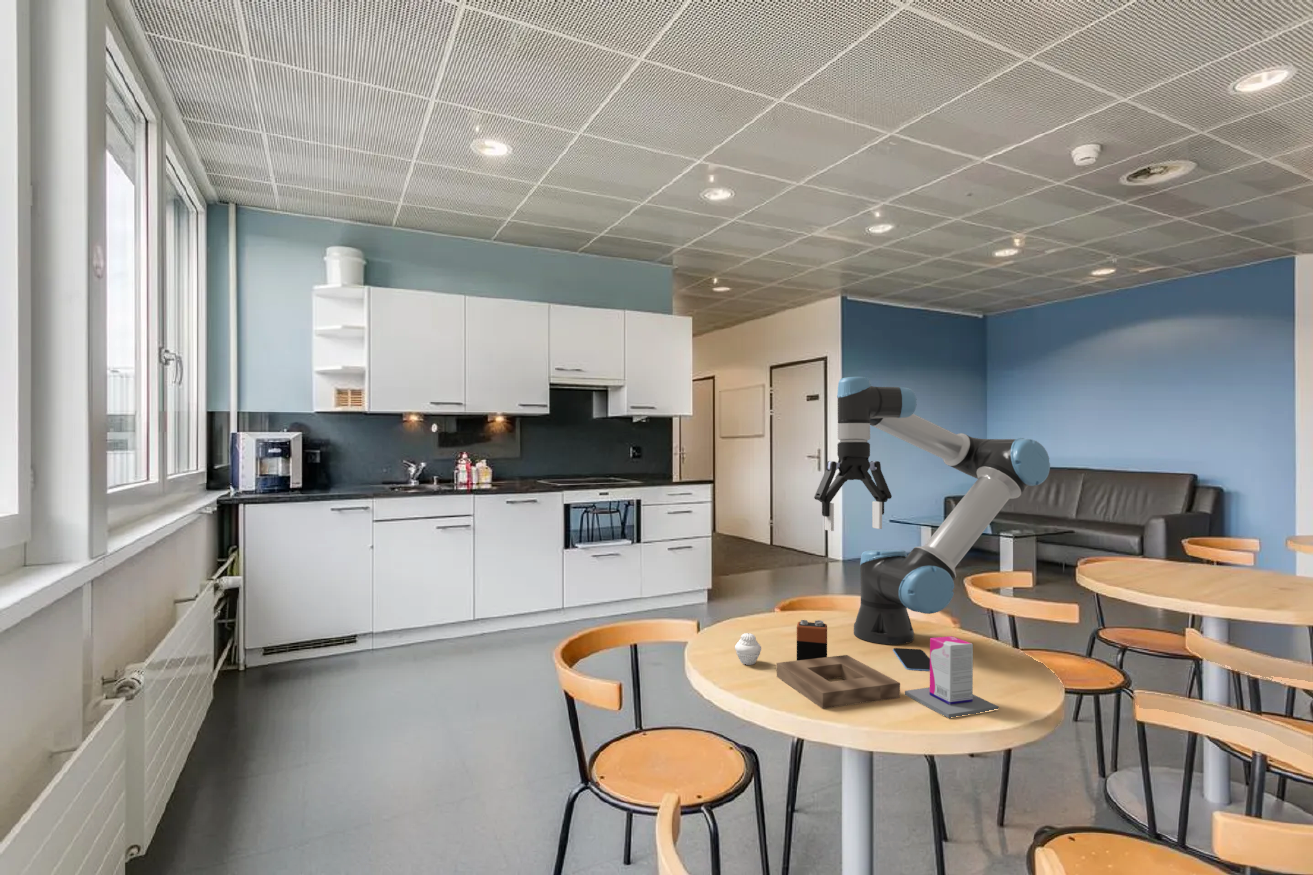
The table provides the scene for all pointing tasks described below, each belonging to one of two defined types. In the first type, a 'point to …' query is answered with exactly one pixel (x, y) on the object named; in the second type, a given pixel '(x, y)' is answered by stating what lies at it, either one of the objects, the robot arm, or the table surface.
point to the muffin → (748, 649)
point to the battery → (811, 640)
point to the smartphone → (913, 659)
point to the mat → (950, 710)
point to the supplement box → (951, 670)
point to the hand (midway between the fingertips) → (853, 529)
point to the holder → (853, 690)
